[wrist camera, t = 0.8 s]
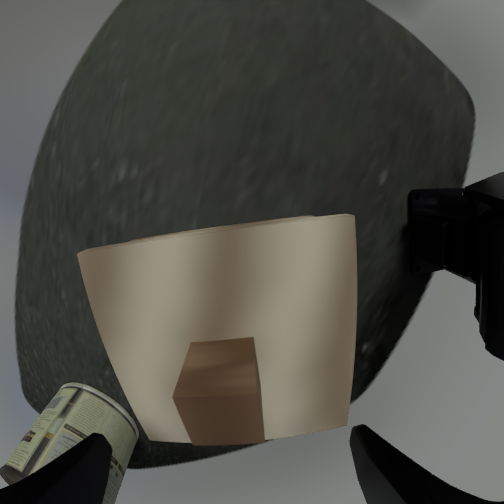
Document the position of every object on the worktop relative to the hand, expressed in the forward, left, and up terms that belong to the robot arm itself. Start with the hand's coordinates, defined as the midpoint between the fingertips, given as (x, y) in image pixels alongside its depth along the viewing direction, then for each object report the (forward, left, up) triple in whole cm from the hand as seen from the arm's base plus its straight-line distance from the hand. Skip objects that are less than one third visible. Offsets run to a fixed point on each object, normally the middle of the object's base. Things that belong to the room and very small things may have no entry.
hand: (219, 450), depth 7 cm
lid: (0, 0, -7) cm, 7 cm away
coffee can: (+17, +12, -12) cm, 24 cm away
